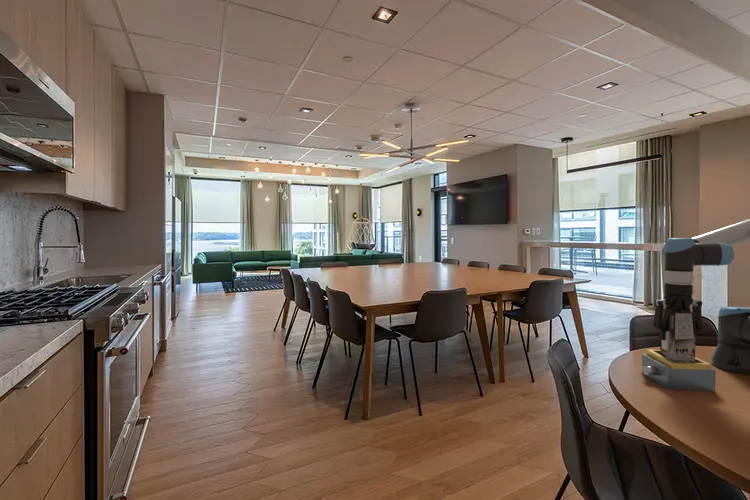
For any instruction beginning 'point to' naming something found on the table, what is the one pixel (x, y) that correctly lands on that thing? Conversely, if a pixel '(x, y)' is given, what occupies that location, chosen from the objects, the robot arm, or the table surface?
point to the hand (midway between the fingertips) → (676, 349)
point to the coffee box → (681, 336)
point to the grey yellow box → (678, 372)
